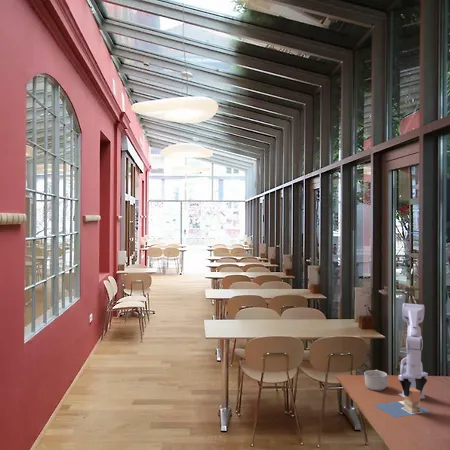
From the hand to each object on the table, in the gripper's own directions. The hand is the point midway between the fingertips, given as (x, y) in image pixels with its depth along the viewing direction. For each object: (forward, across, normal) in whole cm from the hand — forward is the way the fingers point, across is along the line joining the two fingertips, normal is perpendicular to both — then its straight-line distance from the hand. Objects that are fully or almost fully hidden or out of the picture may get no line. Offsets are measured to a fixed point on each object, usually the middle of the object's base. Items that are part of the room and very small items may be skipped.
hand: (412, 395), depth 211 cm
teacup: (+8, +4, +29) cm, 30 cm away
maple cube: (+7, 0, 0) cm, 7 cm away
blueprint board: (+7, -3, +3) cm, 8 cm away
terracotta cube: (+2, 0, 0) cm, 2 cm away
